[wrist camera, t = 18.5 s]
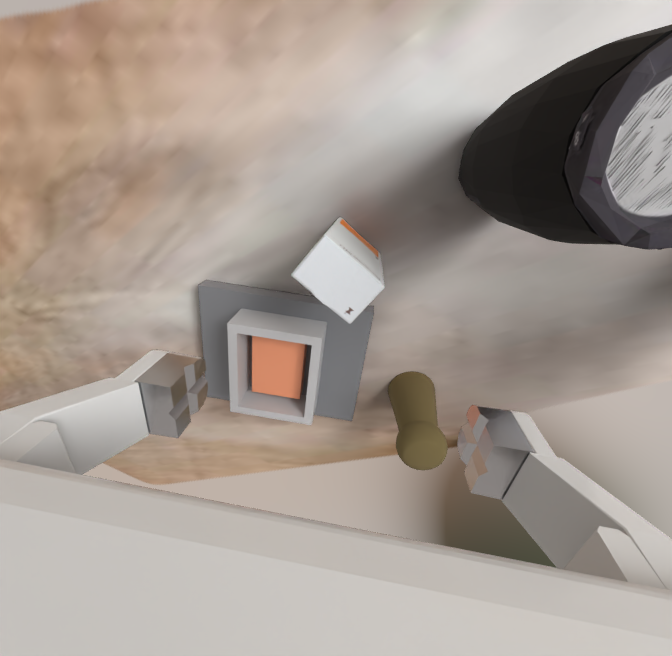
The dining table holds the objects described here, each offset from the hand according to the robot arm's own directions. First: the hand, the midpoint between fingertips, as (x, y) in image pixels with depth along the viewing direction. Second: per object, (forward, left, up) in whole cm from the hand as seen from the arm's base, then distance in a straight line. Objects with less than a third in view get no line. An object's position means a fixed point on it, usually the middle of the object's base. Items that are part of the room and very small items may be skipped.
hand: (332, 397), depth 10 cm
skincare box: (+1, +1, -27) cm, 26 cm away
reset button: (+7, +15, -24) cm, 29 cm away
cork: (-10, +18, -27) cm, 34 cm away
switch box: (+7, +15, -26) cm, 31 cm away
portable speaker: (-12, -9, -26) cm, 30 cm away
